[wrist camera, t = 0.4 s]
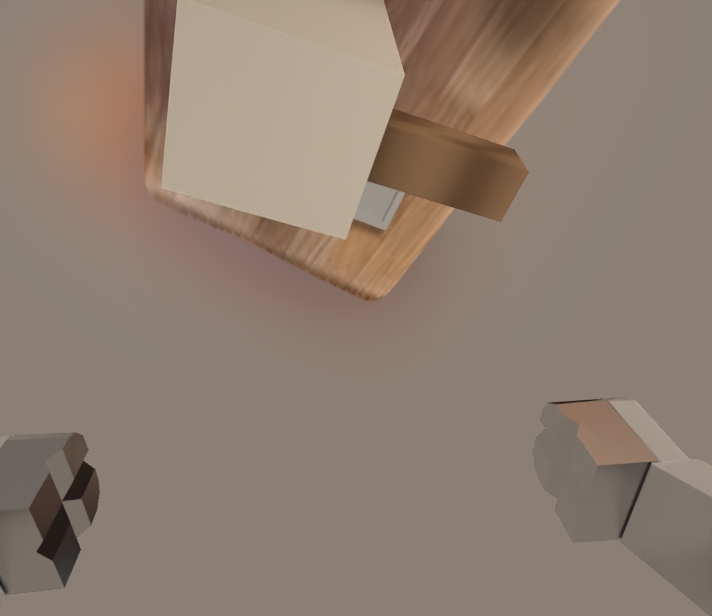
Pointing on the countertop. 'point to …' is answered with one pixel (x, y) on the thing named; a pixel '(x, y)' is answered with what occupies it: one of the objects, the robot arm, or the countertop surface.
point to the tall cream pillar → (280, 106)
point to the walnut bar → (447, 166)
